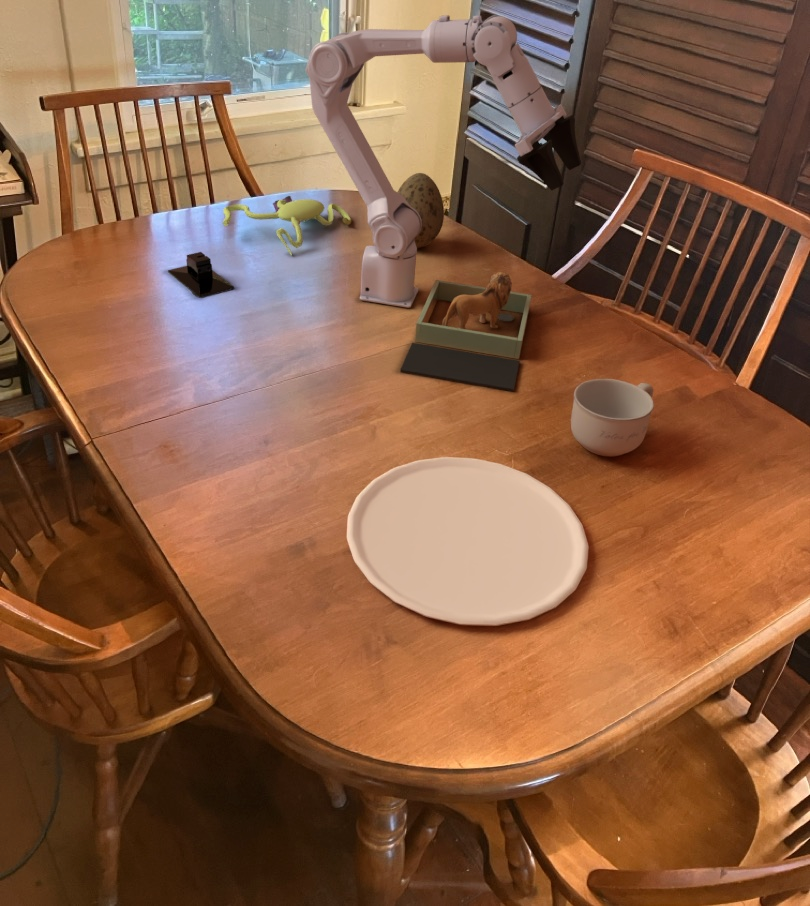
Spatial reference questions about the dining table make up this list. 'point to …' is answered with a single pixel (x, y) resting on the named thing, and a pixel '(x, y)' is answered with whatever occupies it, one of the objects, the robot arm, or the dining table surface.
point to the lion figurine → (482, 302)
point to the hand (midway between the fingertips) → (566, 177)
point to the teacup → (611, 415)
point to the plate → (467, 541)
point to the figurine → (291, 215)
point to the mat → (461, 366)
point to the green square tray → (471, 338)
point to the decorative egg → (424, 206)
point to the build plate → (200, 276)
